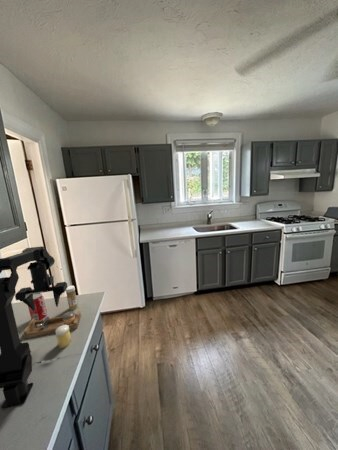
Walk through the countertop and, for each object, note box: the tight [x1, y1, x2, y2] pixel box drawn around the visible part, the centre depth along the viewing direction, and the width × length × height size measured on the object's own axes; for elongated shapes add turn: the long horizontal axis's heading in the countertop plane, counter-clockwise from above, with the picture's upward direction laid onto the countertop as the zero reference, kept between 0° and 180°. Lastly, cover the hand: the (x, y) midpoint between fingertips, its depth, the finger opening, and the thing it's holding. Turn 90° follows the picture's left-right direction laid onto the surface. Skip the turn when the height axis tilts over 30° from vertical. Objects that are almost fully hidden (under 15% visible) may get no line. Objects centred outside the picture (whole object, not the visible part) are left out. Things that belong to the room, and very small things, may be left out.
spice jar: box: [62, 310, 76, 325], centre depth 96 cm, size 5×5×5 cm
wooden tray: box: [22, 310, 82, 339], centre depth 95 cm, size 9×22×4 cm, turn 102°
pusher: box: [36, 316, 50, 330], centre depth 93 cm, size 6×4×4 cm
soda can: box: [27, 293, 48, 321], centre depth 102 cm, size 7×7×13 cm
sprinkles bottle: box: [65, 285, 79, 311], centre depth 108 cm, size 5×5×13 cm
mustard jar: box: [55, 325, 72, 349], centre depth 83 cm, size 5×5×8 cm
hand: (46, 308), depth 88 cm, fingers open, 9 cm apart
